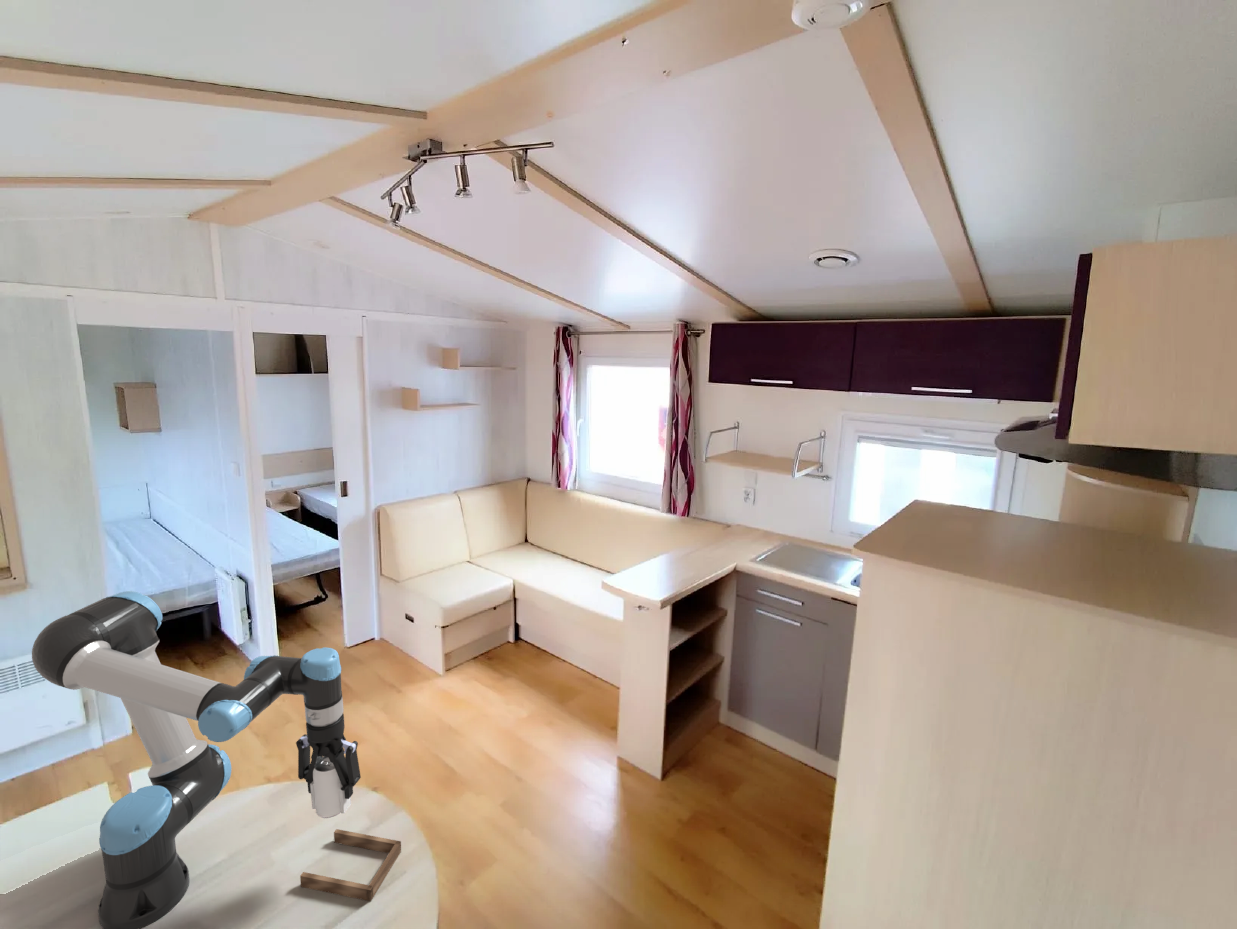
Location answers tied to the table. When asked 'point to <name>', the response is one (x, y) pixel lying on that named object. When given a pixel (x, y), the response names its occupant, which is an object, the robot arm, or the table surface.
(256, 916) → the table surface
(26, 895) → the table surface
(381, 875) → the open wooden frame
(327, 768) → the can
